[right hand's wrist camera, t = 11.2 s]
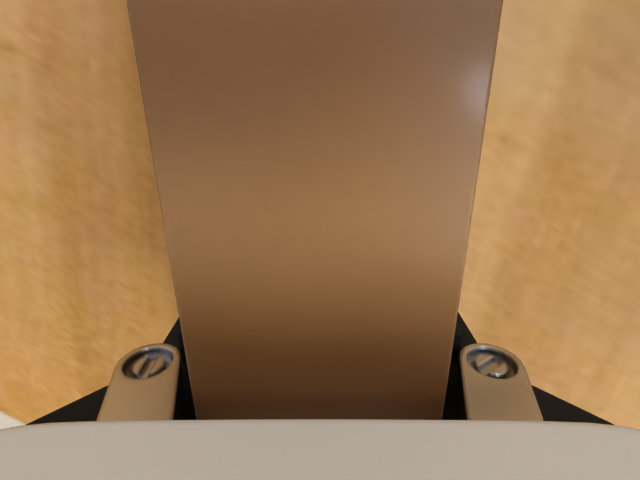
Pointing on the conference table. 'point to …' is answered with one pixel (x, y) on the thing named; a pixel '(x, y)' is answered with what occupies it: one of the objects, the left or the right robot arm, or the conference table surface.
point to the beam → (316, 195)
